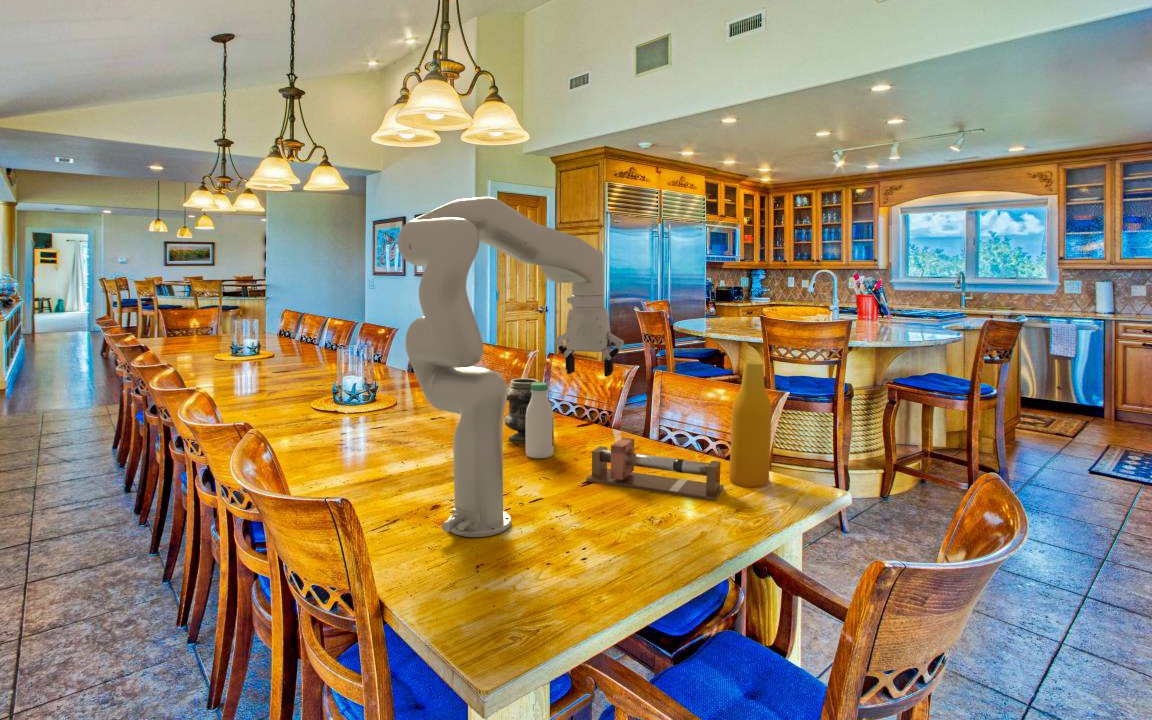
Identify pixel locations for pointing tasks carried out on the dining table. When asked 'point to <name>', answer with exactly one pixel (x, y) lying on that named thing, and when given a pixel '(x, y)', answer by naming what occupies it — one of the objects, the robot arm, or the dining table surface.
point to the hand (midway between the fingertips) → (589, 374)
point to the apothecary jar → (518, 407)
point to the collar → (621, 458)
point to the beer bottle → (751, 430)
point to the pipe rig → (660, 483)
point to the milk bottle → (539, 423)
